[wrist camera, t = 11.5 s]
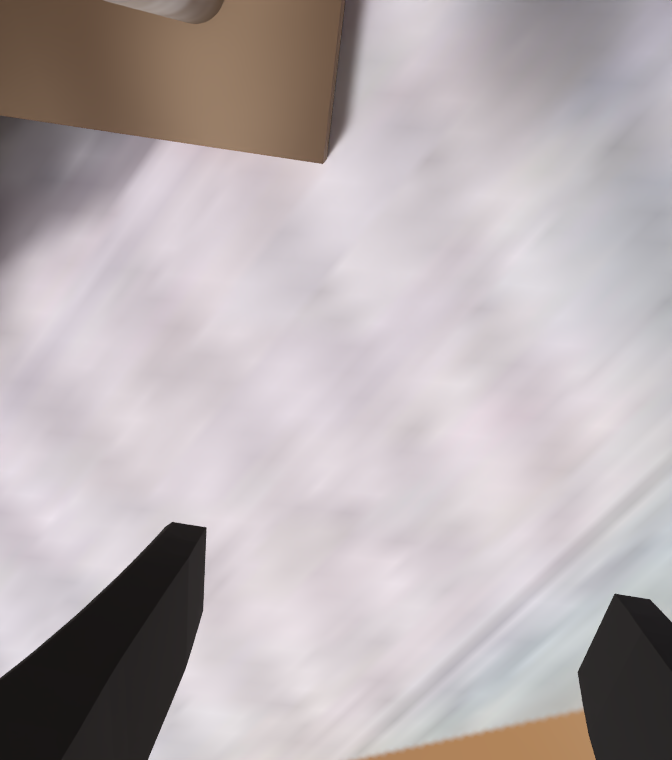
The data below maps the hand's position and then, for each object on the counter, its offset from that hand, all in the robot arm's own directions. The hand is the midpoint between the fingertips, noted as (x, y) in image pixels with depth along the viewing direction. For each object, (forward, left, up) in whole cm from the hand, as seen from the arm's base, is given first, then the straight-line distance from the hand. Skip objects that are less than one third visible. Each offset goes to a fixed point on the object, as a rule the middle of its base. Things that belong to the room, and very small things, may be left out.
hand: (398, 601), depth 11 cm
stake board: (+8, -11, -9) cm, 16 cm away
